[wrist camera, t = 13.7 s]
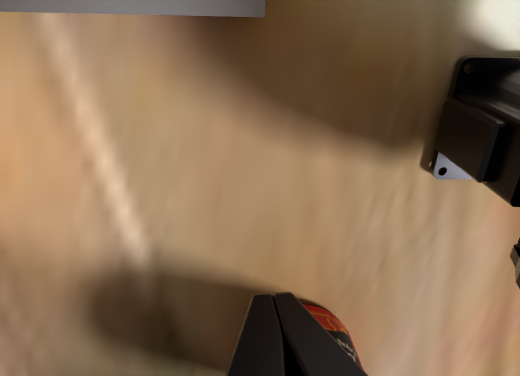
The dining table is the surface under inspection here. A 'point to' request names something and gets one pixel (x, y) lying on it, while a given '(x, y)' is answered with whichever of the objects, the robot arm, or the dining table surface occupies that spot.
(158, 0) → the button housing
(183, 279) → the dining table surface
